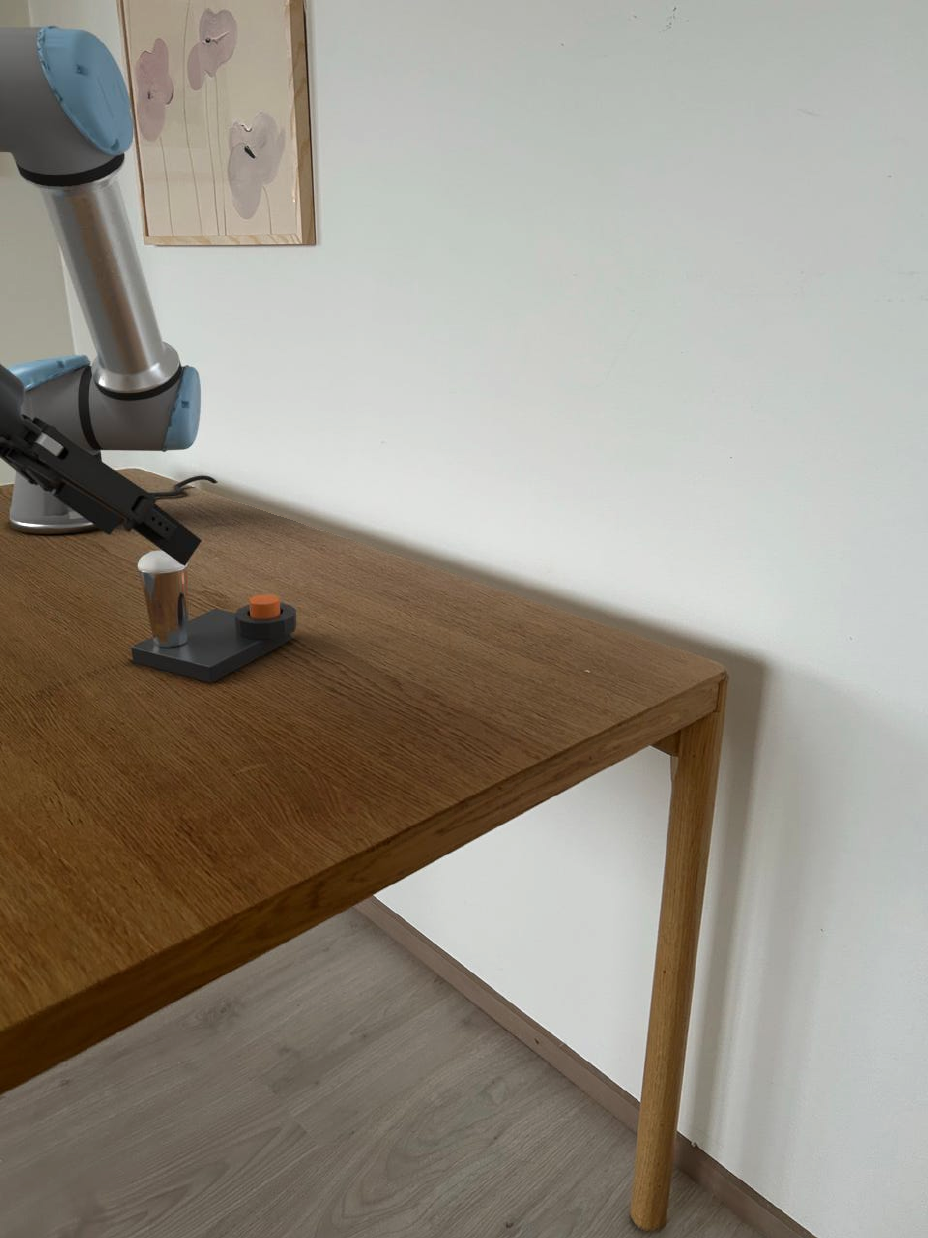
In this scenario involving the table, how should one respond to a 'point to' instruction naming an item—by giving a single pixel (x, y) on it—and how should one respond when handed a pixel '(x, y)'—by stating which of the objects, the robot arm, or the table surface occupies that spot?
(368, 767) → the table surface
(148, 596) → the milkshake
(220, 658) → the scale
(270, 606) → the button
